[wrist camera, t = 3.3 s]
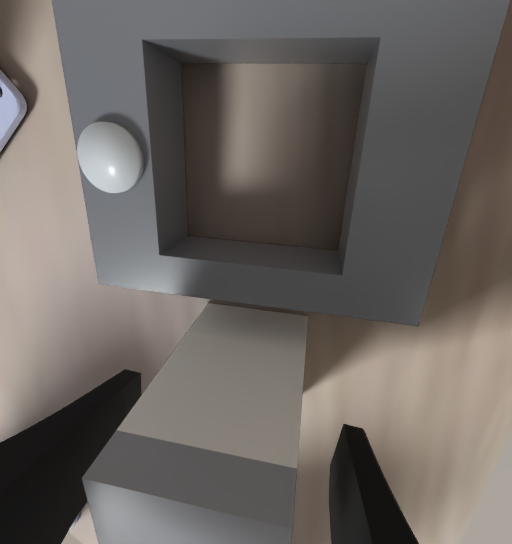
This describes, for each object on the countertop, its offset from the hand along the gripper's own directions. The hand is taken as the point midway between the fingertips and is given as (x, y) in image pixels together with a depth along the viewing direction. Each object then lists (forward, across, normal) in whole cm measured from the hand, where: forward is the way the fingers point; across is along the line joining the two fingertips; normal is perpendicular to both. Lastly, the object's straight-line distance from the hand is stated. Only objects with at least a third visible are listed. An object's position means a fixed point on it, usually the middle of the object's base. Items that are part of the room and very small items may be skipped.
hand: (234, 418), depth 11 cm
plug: (+4, 0, 0) cm, 4 cm away
